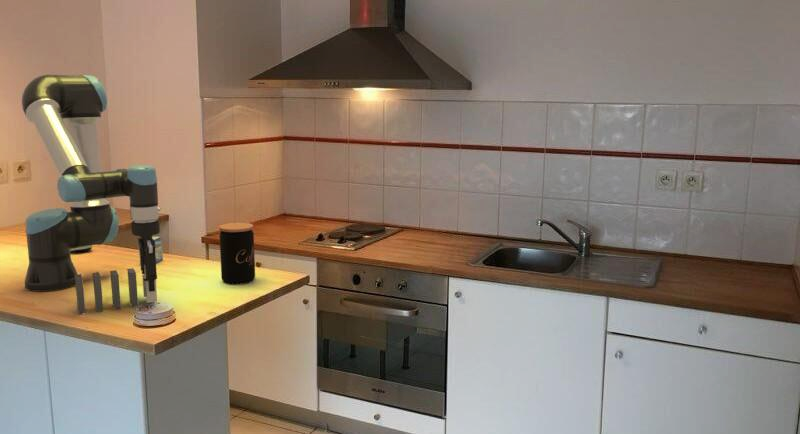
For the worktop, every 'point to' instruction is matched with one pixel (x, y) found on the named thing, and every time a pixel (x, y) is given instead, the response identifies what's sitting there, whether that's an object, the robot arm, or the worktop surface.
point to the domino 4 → (132, 287)
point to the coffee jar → (237, 253)
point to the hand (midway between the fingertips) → (150, 298)
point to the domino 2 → (98, 291)
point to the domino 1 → (80, 294)
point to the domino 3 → (115, 289)
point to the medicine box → (156, 249)
